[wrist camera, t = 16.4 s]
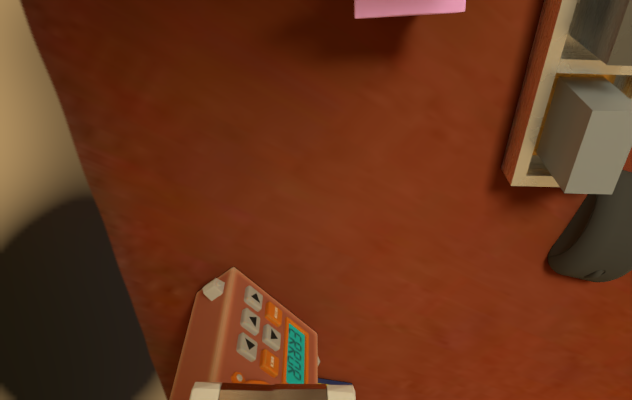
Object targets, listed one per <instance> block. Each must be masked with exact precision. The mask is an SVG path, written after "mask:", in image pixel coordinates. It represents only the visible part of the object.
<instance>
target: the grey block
mask: <svg viewBox="0 0 632 400" xmlns="http://www.w3.org/2000/svg"><path fill="white" fill-rule="evenodd" d="M631 147H632V100H631V99H629V98H628V97H627V96H626V95H625V94H624V93H622V92H621V91H620V90H619V89H618V88H616V87H615V86H614V85H613V84H612V83H611V82H609V81H608V80H607V79H606V78H592V77H558V81H557V84H556V87H555V91H554V94H553V98H552V101H551V104H550V108H549V111H548V114H547V118H546V121H545V125H544V128H543V131H542V135H541V138H540V141H539V145H538V148H537V152H536V153H537V155H538V156H539V157H540V159H541V160H542V162H543V163H544V165H545V166H546V168H547V169H548V171H549V172H550V173H551V175H552V176H553V178H554V179H555V181H556V182H557V184H558V185H559V186H560V188H561V189H562V191H563V192H564V193H575V194H612V193H613V191H614V188H615V186H616V184H617V181H618V179H619V176H620V174H621V171H622V169H623V166H624V164H625V161H626V159H627V156H628V154H629V152H630V149H631Z"/></svg>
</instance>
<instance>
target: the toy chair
mask: <svg viewBox="0 0 632 400" xmlns="http://www.w3.org/2000/svg"><path fill="white" fill-rule="evenodd" d="M465 5H466V0H354V18H355V19H362V18H380V17H397V16H414V15H431V14H448V13H457V12H465Z"/></svg>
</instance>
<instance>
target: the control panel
mask: <svg viewBox="0 0 632 400" xmlns="http://www.w3.org/2000/svg"><path fill="white" fill-rule="evenodd" d="M319 363H320V360H319V357H318V335H317V333H316V332H315V331H314V330H312V329H311V328H310V327H309V326H307V325H306V324H305V323H304V322H302V321H301V320H300V319H299V318H297V317H296V316H295V315H294V314H292V313H291V312H290V311H289V310H287V309H286V308H285V307H284V306H282V305H281V304H280V303H279V302H277V301H276V300H275V299H274V298H272V297H271V296H270V295H269V294H267V293H266V292H265V291H264V290H262V289H261V288H260V287H259V286H257V285H256V284H255V283H254V282H252V281H251V280H250V279H249V278H247V277H246V276H245V275H244V274H242V273H241V272H240V271H239V270H237V269H236V268H235V267H232V268H231V269H229V270H228V271H227V272H225V273H224V274H222V275H221V276H220V277H218V278H215V279H213V280H212V281H211V282H209V283H208V284H206V285H205V286H204V287H203V289H201V290H200V291H198V292H197V294H196V297H195V301H194V305H193V309H192V313H191V317H190V321H189V325H188V329H187V332H186V336H185V340H184V344H183V348H182V352H181V356H180V360H179V364H178V368H177V372H176V375H175V379H174V383H173V387H172V391H171V395H170V399H169V400H189V399H190V394H191V390H192V388H193V386H194V384H195V382H222V383H246V384H270V385H274V384H318V365H319Z"/></svg>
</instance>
